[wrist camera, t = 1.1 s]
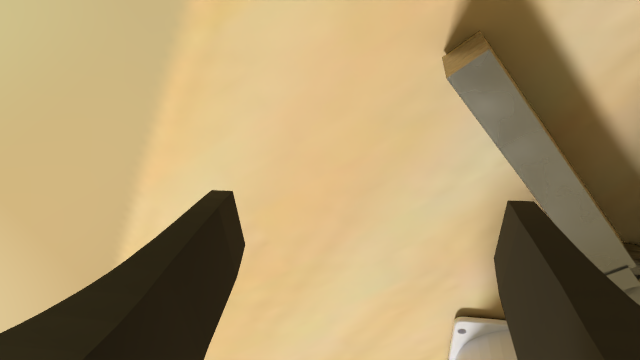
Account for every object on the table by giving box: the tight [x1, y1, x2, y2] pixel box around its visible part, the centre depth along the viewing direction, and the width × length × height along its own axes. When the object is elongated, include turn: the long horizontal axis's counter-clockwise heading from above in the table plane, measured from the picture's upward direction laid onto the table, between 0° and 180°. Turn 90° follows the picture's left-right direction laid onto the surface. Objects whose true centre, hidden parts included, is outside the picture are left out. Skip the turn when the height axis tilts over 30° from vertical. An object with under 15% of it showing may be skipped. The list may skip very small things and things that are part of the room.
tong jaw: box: [442, 31, 640, 305], centre depth 20 cm, size 17×3×3 cm, turn 42°
